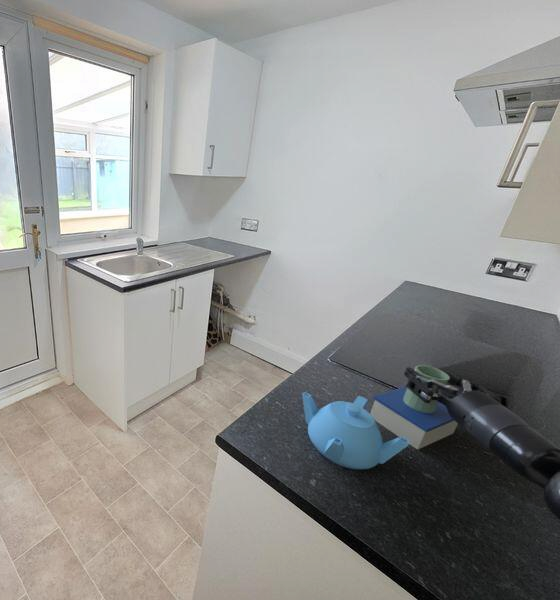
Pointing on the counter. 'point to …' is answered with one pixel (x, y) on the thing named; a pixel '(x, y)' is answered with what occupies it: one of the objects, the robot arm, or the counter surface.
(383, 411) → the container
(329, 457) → the teapot
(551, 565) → the counter surface
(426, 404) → the utensil cup
